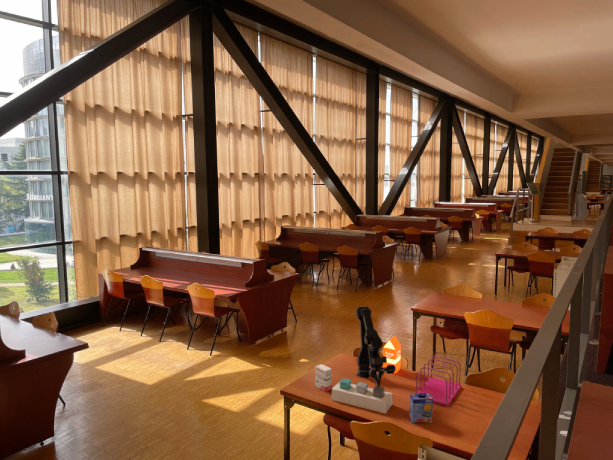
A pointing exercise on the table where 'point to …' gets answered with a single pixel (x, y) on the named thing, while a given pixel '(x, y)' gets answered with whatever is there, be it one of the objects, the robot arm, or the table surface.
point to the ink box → (323, 377)
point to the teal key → (345, 384)
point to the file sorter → (439, 384)
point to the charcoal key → (378, 392)
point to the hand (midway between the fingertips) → (378, 386)
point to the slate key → (361, 388)
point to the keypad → (362, 398)
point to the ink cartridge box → (421, 407)
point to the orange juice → (392, 353)
